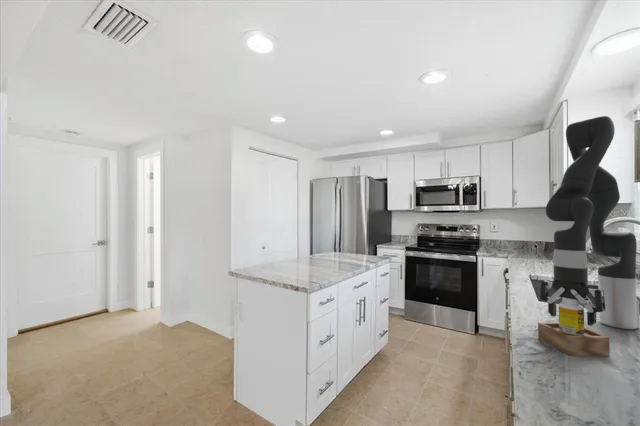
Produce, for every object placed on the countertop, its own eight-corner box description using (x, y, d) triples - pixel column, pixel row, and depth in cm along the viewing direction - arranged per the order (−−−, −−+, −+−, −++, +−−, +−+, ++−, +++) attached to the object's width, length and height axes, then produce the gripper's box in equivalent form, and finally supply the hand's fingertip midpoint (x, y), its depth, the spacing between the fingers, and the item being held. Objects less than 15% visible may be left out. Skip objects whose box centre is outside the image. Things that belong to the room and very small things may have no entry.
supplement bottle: (581, 338, 78) (580, 301, 78) (556, 331, 82) (555, 297, 83) (587, 334, 81) (586, 298, 81) (562, 327, 86) (562, 294, 86)
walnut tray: (573, 338, 87) (573, 322, 87) (609, 356, 76) (609, 337, 76) (538, 338, 87) (538, 322, 87) (569, 355, 76) (568, 337, 76)
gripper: (608, 267, 78) (609, 326, 77) (547, 261, 90) (548, 311, 90) (597, 269, 74) (599, 331, 74) (535, 262, 87) (536, 315, 86)
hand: (571, 320), depth 82 cm, fingers open, 8 cm apart
